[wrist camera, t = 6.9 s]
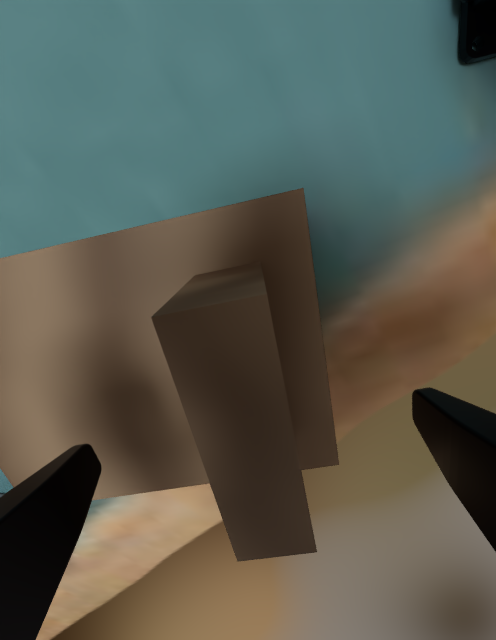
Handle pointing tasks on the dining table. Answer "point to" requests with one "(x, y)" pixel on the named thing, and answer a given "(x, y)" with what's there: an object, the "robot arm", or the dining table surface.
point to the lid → (176, 364)
